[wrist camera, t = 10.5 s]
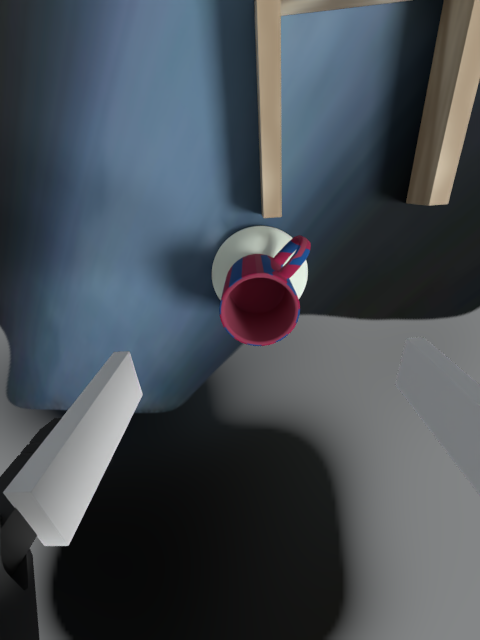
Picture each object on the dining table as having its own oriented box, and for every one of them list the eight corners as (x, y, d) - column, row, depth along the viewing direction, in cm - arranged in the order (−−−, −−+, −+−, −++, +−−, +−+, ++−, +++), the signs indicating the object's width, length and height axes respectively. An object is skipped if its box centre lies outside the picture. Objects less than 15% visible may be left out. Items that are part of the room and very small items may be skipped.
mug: (212, 287, 28) (203, 315, 22) (278, 212, 25) (288, 220, 19) (258, 324, 30) (261, 359, 24) (325, 259, 27) (349, 280, 21)
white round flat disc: (217, 319, 31) (217, 321, 30) (206, 229, 26) (205, 230, 26) (304, 314, 30) (305, 316, 30) (308, 221, 26) (309, 222, 25)
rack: (261, 214, 26) (263, 218, 22) (253, -11, 19) (254, -50, 16) (422, 202, 25) (447, 204, 22) (473, -38, 18) (520, -86, 15)
